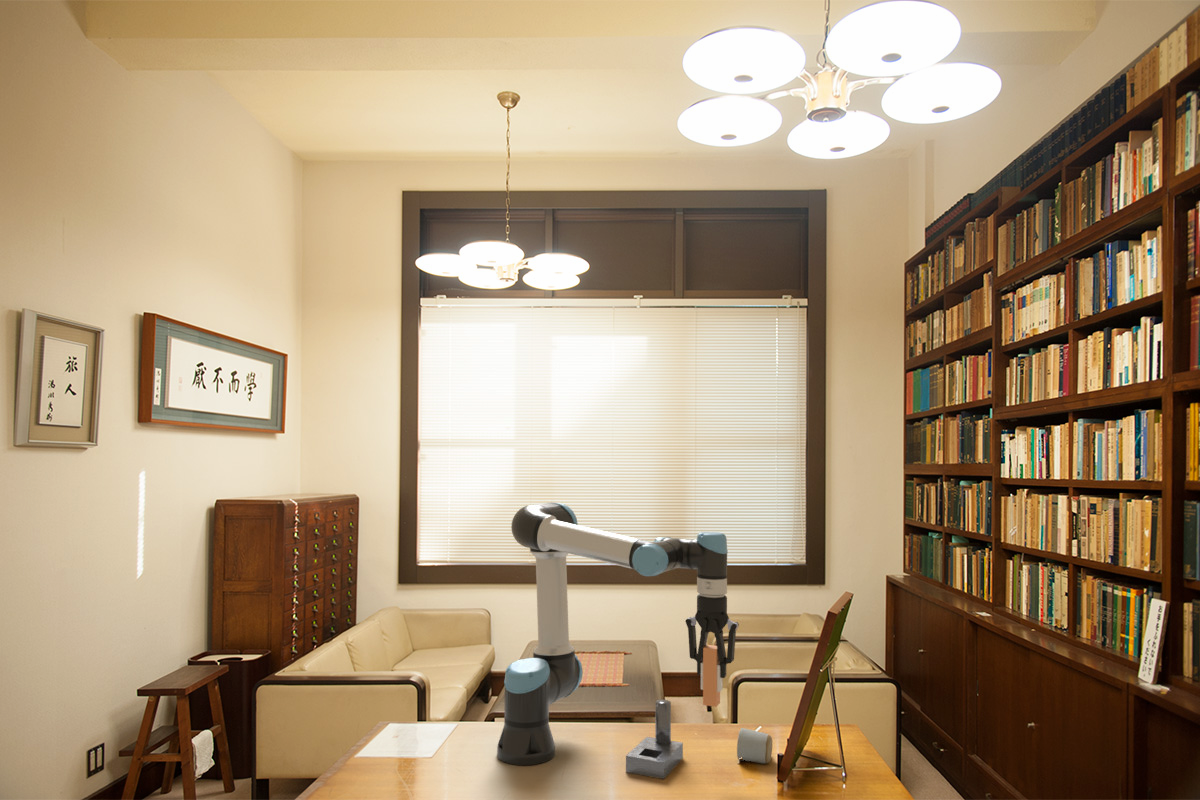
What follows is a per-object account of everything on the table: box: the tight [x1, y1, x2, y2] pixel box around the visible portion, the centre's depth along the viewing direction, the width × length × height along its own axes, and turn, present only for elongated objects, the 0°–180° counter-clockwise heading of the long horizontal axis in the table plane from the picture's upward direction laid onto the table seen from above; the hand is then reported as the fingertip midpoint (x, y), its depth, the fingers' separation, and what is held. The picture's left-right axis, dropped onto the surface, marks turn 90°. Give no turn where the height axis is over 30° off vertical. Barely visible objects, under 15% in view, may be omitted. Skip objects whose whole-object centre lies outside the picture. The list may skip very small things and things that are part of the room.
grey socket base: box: [625, 699, 684, 780], centre depth 202 cm, size 10×15×14 cm, turn 156°
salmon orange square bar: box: [702, 644, 721, 708], centre depth 198 cm, size 3×3×14 cm
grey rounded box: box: [736, 727, 773, 764], centre depth 206 cm, size 11×8×8 cm
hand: (711, 689), depth 198 cm, fingers closed on salmon orange square bar, 3 cm apart
